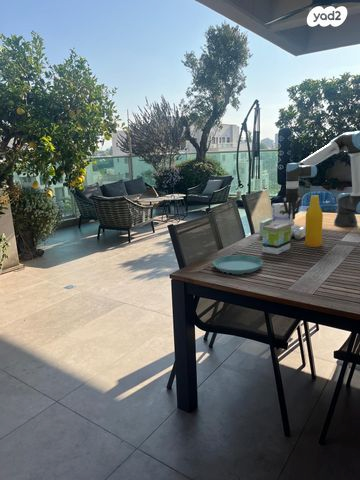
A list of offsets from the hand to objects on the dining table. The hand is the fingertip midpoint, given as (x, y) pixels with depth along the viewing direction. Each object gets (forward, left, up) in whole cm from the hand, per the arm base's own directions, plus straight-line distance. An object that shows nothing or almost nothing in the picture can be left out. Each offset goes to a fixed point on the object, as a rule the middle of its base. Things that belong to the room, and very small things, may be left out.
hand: (291, 224), depth 226 cm
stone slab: (+7, 0, -2) cm, 7 cm away
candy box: (+18, -33, -8) cm, 39 cm away
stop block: (+17, 0, -8) cm, 19 cm away
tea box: (-4, +37, -8) cm, 38 cm away
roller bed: (-3, 0, -8) cm, 8 cm away
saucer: (+2, +74, -9) cm, 74 cm away
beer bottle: (-19, +18, -8) cm, 27 cm away
